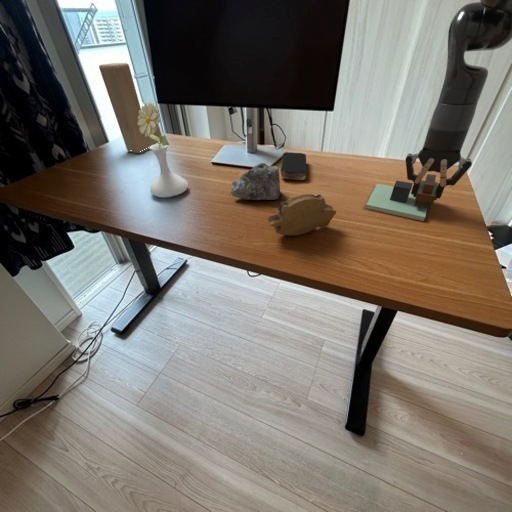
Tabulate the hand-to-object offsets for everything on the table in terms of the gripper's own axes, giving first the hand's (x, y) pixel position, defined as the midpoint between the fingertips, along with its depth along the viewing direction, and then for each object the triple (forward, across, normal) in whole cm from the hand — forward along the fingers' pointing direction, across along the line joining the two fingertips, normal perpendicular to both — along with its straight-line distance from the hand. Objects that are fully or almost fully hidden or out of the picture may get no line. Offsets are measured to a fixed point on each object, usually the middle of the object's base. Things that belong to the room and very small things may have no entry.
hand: (424, 197), depth 69 cm
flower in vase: (0, -67, -24) cm, 71 cm away
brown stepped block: (+1, 0, 0) cm, 1 cm away
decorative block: (-2, -108, +3) cm, 108 cm away
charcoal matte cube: (+1, -6, 0) cm, 6 cm away
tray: (+3, -6, 0) cm, 6 cm away
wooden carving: (+3, -24, -25) cm, 35 cm away
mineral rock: (+1, -42, -14) cm, 44 cm away
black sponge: (+1, -40, +7) cm, 41 cm away
